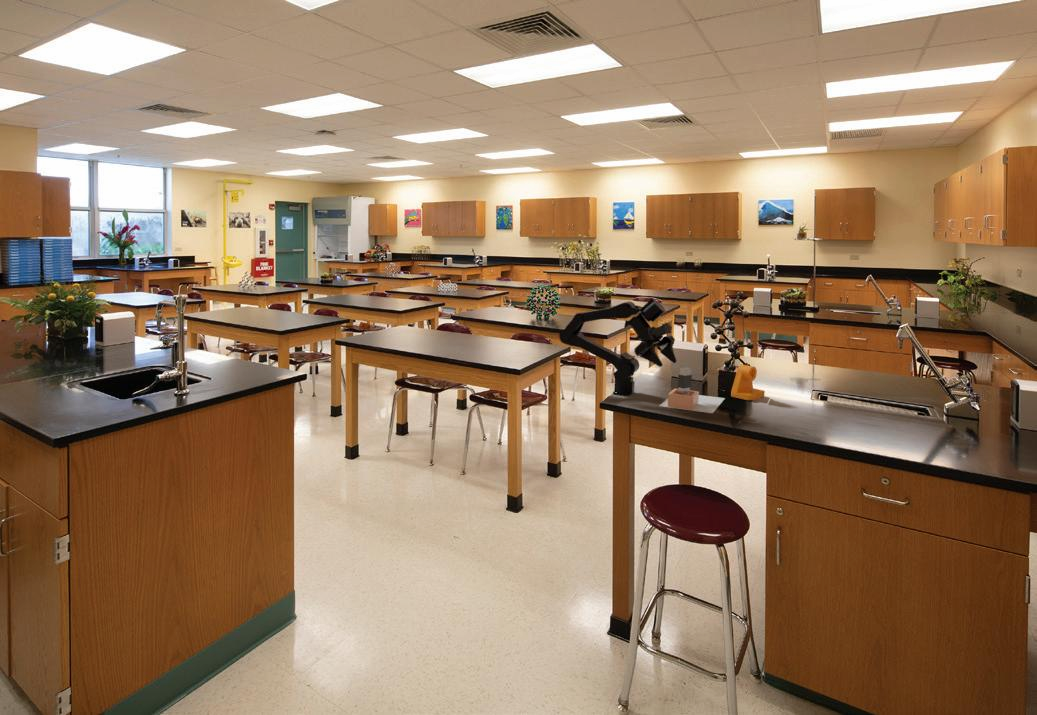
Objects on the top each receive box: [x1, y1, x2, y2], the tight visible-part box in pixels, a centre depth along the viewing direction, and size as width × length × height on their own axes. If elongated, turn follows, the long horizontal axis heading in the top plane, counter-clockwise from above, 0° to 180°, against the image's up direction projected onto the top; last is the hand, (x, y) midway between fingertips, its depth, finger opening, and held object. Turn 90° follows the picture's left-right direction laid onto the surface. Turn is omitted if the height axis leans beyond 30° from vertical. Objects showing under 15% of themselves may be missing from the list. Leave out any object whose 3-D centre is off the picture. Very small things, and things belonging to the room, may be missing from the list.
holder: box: [667, 388, 700, 411], centre depth 205 cm, size 8×8×4 cm
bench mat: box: [658, 394, 726, 414], centre depth 209 cm, size 18×22×1 cm
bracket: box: [730, 364, 766, 401], centre depth 215 cm, size 11×7×12 cm, turn 127°
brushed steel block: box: [677, 366, 693, 396], centre depth 204 cm, size 4×4×12 cm
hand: (668, 364), depth 209 cm, fingers open, 9 cm apart
